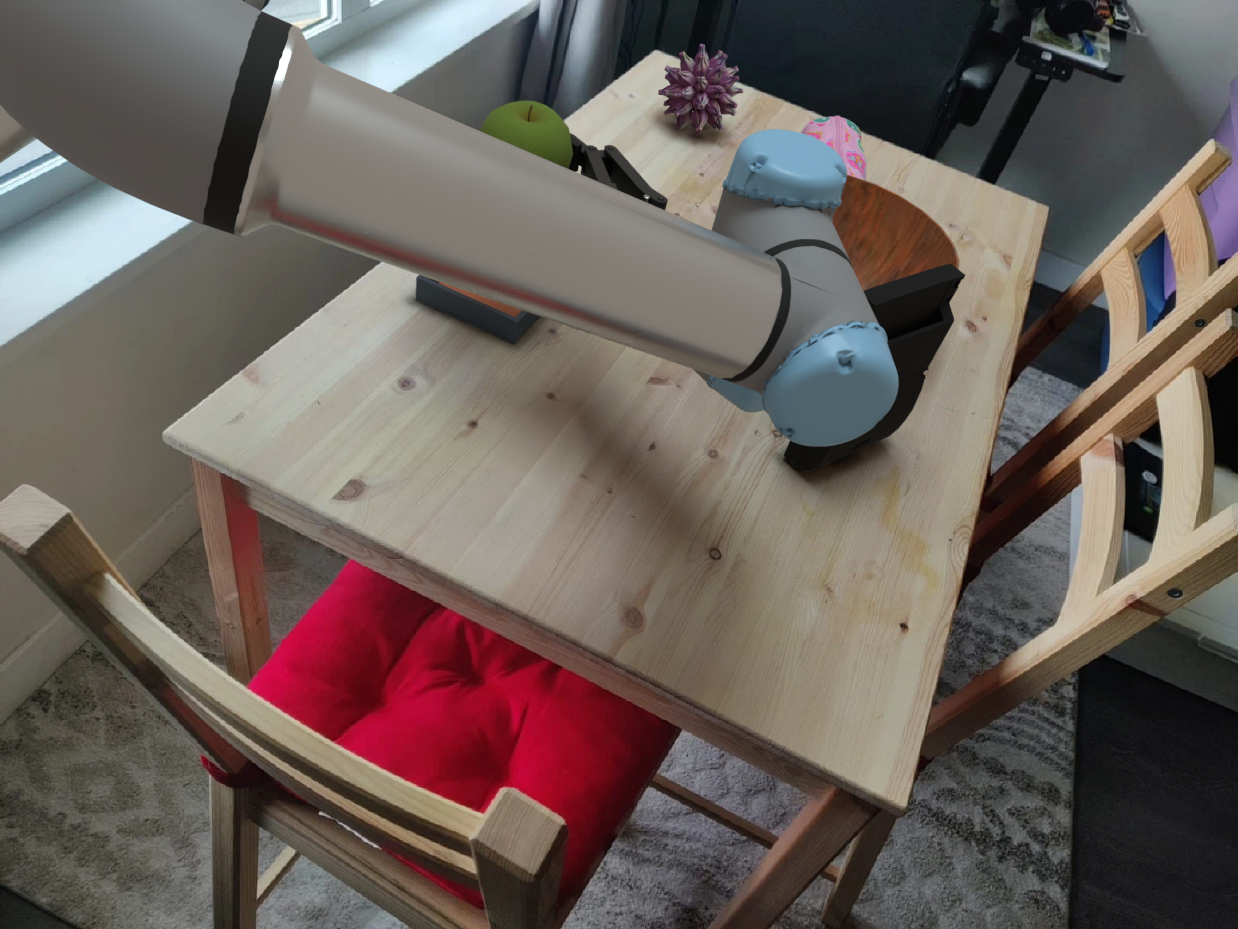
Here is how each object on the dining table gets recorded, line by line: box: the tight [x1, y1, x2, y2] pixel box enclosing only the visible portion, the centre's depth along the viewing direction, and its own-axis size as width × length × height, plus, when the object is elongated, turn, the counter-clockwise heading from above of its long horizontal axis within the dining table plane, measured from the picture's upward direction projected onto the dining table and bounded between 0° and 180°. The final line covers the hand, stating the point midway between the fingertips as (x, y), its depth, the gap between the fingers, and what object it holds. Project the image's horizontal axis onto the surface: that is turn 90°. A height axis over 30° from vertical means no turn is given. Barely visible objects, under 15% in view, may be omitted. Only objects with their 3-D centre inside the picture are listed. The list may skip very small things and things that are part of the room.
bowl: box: [833, 175, 961, 291], centre depth 102 cm, size 25×25×11 cm
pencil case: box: [800, 115, 867, 181], centre depth 120 cm, size 21×9×9 cm, turn 173°
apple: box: [479, 100, 573, 169], centre depth 83 cm, size 9×8×12 cm
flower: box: [657, 43, 744, 137], centre depth 128 cm, size 12×12×12 cm
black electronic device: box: [783, 264, 966, 473], centre depth 83 cm, size 12×5×20 cm, turn 125°
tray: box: [415, 274, 542, 345], centre depth 100 cm, size 23×12×3 cm, turn 156°
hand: (495, 133), depth 84 cm, fingers closed on apple, 9 cm apart
